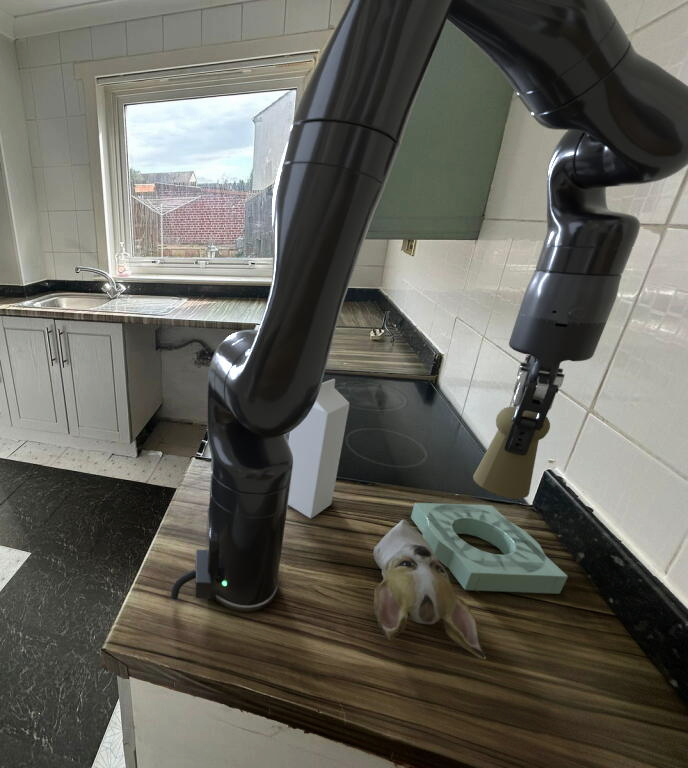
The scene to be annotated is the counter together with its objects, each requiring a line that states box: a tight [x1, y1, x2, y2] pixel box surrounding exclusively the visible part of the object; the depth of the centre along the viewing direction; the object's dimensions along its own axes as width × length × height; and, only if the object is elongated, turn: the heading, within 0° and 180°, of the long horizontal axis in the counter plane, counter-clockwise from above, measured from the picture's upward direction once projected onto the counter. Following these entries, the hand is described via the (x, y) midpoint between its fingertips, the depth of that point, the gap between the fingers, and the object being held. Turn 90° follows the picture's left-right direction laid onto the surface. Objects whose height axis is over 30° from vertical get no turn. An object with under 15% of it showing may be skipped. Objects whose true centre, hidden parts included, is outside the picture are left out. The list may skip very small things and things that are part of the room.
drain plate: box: [410, 502, 569, 595], centre depth 58 cm, size 14×14×3 cm
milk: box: [288, 378, 350, 520], centre depth 64 cm, size 6×6×22 cm
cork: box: [472, 406, 551, 500], centre depth 52 cm, size 6×6×11 cm
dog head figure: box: [373, 519, 487, 660], centre depth 49 cm, size 11×9×15 cm
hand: (515, 442), depth 52 cm, fingers closed on cork, 5 cm apart
